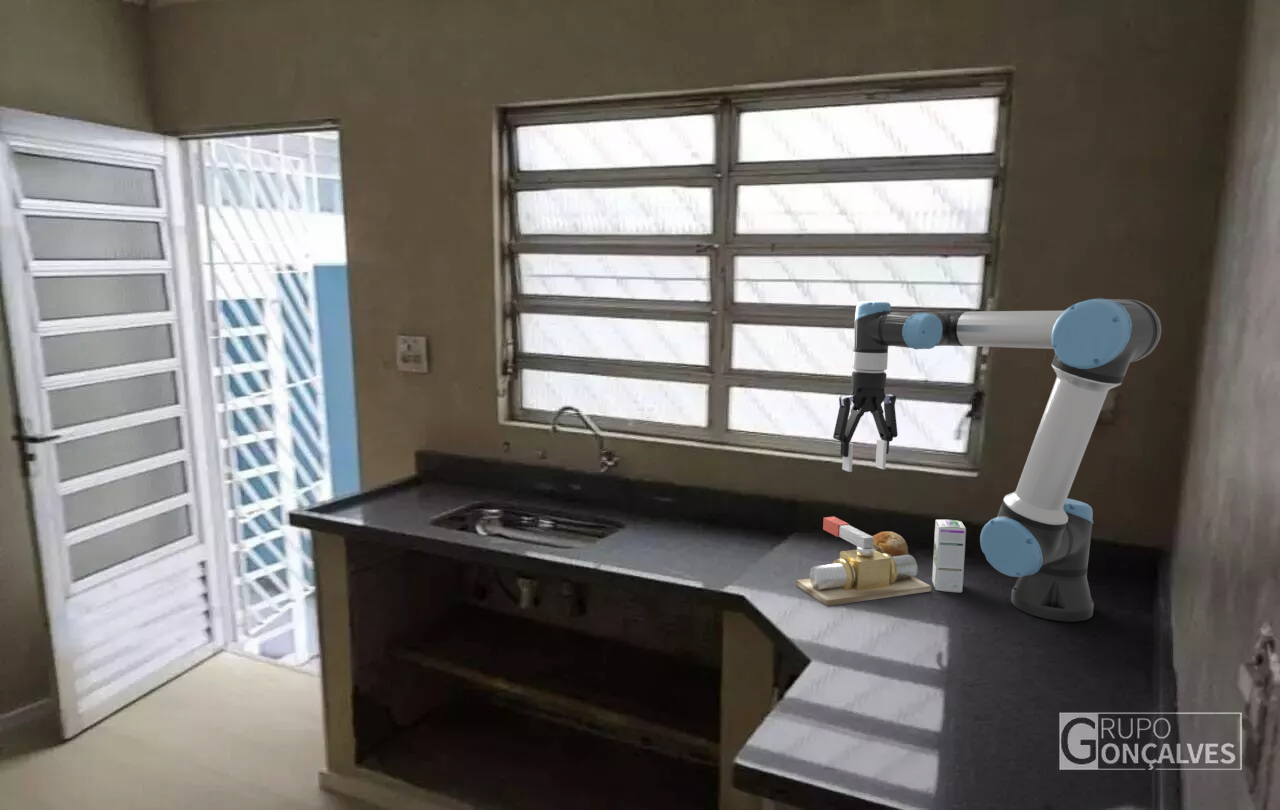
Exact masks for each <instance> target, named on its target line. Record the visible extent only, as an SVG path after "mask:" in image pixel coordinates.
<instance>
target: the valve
mask: <svg viewBox="0 0 1280 810" xmlns="http://www.w3.org/2000/svg"><path fill="white" fill-rule="evenodd" d="M917 573H918V563H917V560H916V559H915V557H914V556H913V555H911V554H908V555H902V556H894V557H892V556H891V555H889V554H887V553H883V554H882V553H880V552H878V551H876V550H874V555H873V556H870V557H865V556H860V555H858V554H857V549H851V550H841V551H839V558H835V559H834V560H833V561H832V563H829V564H820V565H814V566H812V567H811V568H810V570H809V578H810V581H811V584H812V586H813V588H814V589H816V590H823V589H830V588H838V587H841V588H843V589H845V590H850V589H851V588H853V589H855V590H856V591H861V590H868V589H875V588H883V587H889V584H894V583H895V581H896V580H898V579H905V578H913V577H915V578H916V576H917Z"/></svg>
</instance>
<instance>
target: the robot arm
mask: <svg viewBox="0 0 1280 810" xmlns="http://www.w3.org/2000/svg"><path fill="white" fill-rule="evenodd" d="M891 306H892V305H891V303H890V302H887V301H885V302H884V301H860V302H858V303H857V305H856V307H855V315H854V319H853V322H854V323H853V324H854V327H853V328H854V329H853V330H854V333H853V335H854V336H853V337H854V338H853V339H854V340H853V341H854V342H853V351H852V369H853V371H851V384H850V385H851V387H852V388H851V389H852V390H851V393H850V395H847V396H842V395H840V396H839V398H838V403H839V408H838V412H837V417H836V423H835V426H834V431H833V436H832V437H833V439H834V440H837V441H839V442H840V452H839V453H840V456H841V457H842V463H841V464H842V466H841V469H842V470H843V471H845V472H848V473H852V472H853V459H854V458H853V456H854V443H853V442H851V441H852V438H853V436H854V434H855V432H856V429H857V428H858V425H859V423H860V420H861V418H862V417H863V416H864V415H865V413H869V412H870V414H871V415H872V417H873V420H874V423H875V425H876V429H877V432H878V435H879V438H877V439H876V450H875V451H876V452H875V467H876V468H878V469H881V470H886V464H887V463H886V462H887V455H888V454H889V452H890V451H889V449H890V442H892V441H893V439H894V438H897V437H898V434H899V433H898V425H897V414H896V400H897V396H896V395H893V394H889V393H887V394H886V393H885V388H886V387H887V373H886V372H885V371H887V370H888V358H889V357H888V355H889V352H888V351H889V347H898V348H908V349H909V348H910V349H912V350H930V349H934V348H935V347H943V346H944V347H945V346H946V347H948V346H949V347H950V346H951V347H982V348H983V347H985V348H990V347H991V348H992V347H993V348H1014V349H1015V348H1017V349H1047V350H1048V349H1050V350H1051V349H1052V350H1054V357H1053V359H1052V362H1051V367H1052V369H1053V371H1054V372H1055V373H1056V378H1055V381H1054V383H1053V386H1052V390H1051V391H1050V394H1049V398H1048V400H1047V403H1046V406H1045V409H1044V412H1043V414H1042V417H1041V420H1040V423H1039V425H1038V428H1037V430H1036V434H1035V436H1034V439H1033V442H1032V444H1031V446H1030V451H1029V453H1028V455H1027V459H1026V462H1025V464H1024V467H1023V469H1022V472H1021V475H1020V478H1019V480H1018V483H1017V486H1016V489H1015V491H1013V492H1010V493H1008V494H1006V495H1004V497H1003V500H1002V503H1001V505H1000V508H999V510H998V513H997V517H994V518H991V519H990V520H989V521H988V522H986V523H985V524H984V526H983V527H982V529H981V532H980V535H979V543H980V549H981V551H982V553H983V554H984V556H985V559H986V561H987V562H988V563H989V565H991V566H992V567H993V568H994V569H995V570H996V571H998V572H999V573H1001V574H1002V575H1003V574H1004V575H1005V576H1008V577H1011V578H1012V577H1013V578H1017V579H1016V581H1015V584H1014V586H1013V587H1012V589H1011V597H1010V601H1011V604H1012V605H1013V606H1014V607H1015V608H1016V609H1018V610H1019V611H1022V612H1024V613H1026V614H1029V615H1031V616H1034V617H1038V618H1041V619H1045V620H1050V621H1056V622H1057V621H1058V622H1067V623H1068V622H1069V623H1070V622H1072V623H1073V622H1082V621H1086V620H1089V619H1091V618H1092V617H1093V614H1094V605H1095V604H1094V601H1093V599H1092V597H1091V596H1092V595H1091V591H1090V586H1089V581H1088V578H1087V577H1088V576H1087V575H1088V565H1089V564H1088V563H1089V557H1090V548H1091V547H1090V546H1091V540H1092V530H1093V524H1094V520H1093V516H1094V515H1093V508H1092V506H1091V505H1089V504H1088V503H1085V502H1083V501H1080V500H1078V499H1077V500H1076V499H1072V498H1068V496H1069V494H1070V491H1071V488H1072V485H1073V483H1074V481H1075V478H1076V476H1077V472H1078V470H1079V467H1080V465H1081V462H1082V460H1083V457H1084V455H1085V452H1086V449H1087V447H1088V444H1089V442H1090V440H1091V436H1092V433H1093V432H1094V429H1095V427H1096V424H1097V421H1098V420H1099V419H1098V418H1099V415H1100V413H1101V411H1102V408H1103V405H1104V403H1105V401H1106V398H1107V395H1108V392H1109V391H1110V390H1111V389H1114V388H1116V387H1119V386H1121V385H1122V384H1123V382H1124V378H1125V376H1126V373H1127V371H1128V368H1129V366H1130V363H1133V362H1138V361H1140V360H1141V359H1144V358H1146V357H1147V356H1149V355H1150V354H1151V353H1152V352H1153V351H1154V350H1155V349H1156V346H1158V343H1159V342H1160V339H1161V335H1162V324H1161V320H1160V318H1159V316H1158V314H1157V313H1156V312H1155V310H1154V309H1153V308H1152V307H1151V306H1149V305H1148V304H1146V303H1144V302H1142V301H1139V300H1136V299H1131V298H1120V299H1119V298H1118V299H1117V298H1116V299H1115V298H1114V299H1111V298H1108V299H1107V298H1092V299H1091V298H1090V299H1087V300H1084V301H1080V302H1077V303H1075V304H1072V305H1071V306H1069V307H1067V308H1066V309H1065V310H1007V311H1005V310H1003V311H1002V310H1000V311H998V310H997V311H996V310H995V311H993V310H992V311H981V310H980V311H956V310H954V311H953V310H951V311H935V312H934V311H931V312H930V311H925V312H923V311H922V312H907V311H905V312H903V311H901V312H899V311H892V307H891ZM882 404H883V407H882ZM851 406H852V407H851Z"/></svg>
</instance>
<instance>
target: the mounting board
mask: <svg viewBox="0 0 1280 810" xmlns="http://www.w3.org/2000/svg"><path fill="white" fill-rule="evenodd" d="M795 585H796V586H797V587H798V588H800V589H801V590H802V591H804V592H805V593H806V594H808V595H810V596H811V597H813V598H815V599H816V600H817V601H818V602H819V603H822V604H823V605H824V606H826V607H828V606H836V605H843V604H845V605H846V604H850V603H858V602H866V601H873V600H878V599H879V600H880V599H885V598H894V597H900V596H906V595H914V594H922V593H929V592H931V591H932V585H930V584H929V583H926V582H925V581H922V580H921V579H918V578H917V577H916V576H915V577H913V578H905V579H898V580H896V581H895V583H894V584H889V587H883V588H875V589H868V590H861V591H856V590H855V589H853V588H851V589H850V590H845V589H843V588H841V587H838V588H830V589H823V590H816V589H814V588H813V586H812V584H811V581H810V577H809V578H803V579H797V580H796V584H795Z"/></svg>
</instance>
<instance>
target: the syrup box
mask: <svg viewBox="0 0 1280 810" xmlns="http://www.w3.org/2000/svg"><path fill="white" fill-rule="evenodd" d="M966 539H967V528H966V526H965V525H964V524H963V522H962V520H957V519H956V520H955V519H935V525H934V542H933V558H932V559H933V560H932V574H931V582H932V585H933V587H934V589H935V590H936V591H938V592H939V591H941V592H946V593H947V592H949V593H962V592H963V584H964V571H965V555H966Z"/></svg>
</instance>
